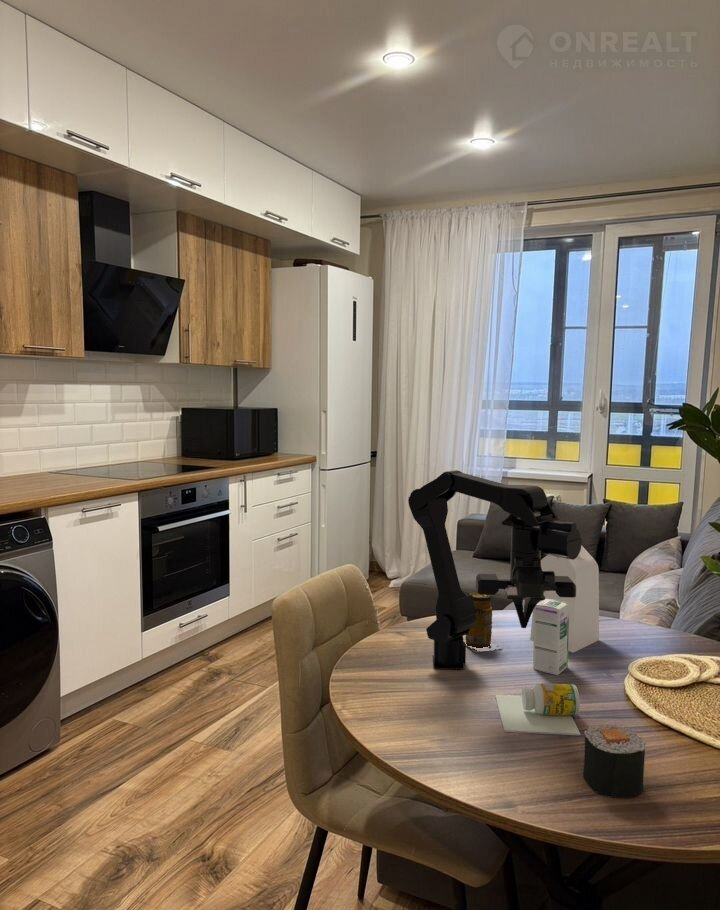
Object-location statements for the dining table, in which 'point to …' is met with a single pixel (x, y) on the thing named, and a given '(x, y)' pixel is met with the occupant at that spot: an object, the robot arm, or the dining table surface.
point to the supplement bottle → (551, 699)
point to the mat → (532, 719)
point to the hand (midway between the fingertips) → (523, 627)
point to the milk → (577, 597)
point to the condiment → (480, 623)
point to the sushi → (614, 761)
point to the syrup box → (551, 636)
